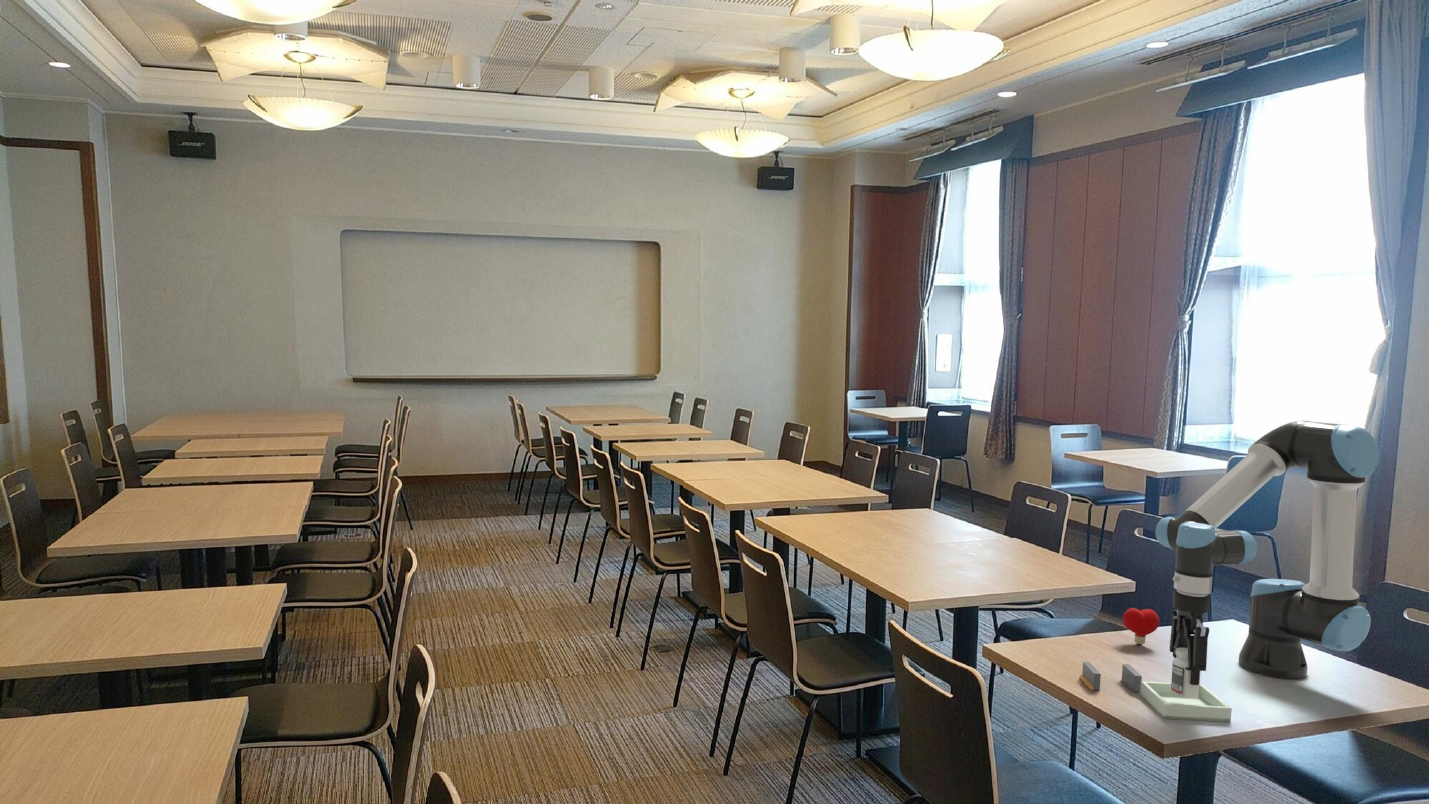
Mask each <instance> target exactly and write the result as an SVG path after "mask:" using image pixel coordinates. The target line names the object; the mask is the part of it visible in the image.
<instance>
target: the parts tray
mask: <svg viewBox="0 0 1429 804" xmlns="http://www.w3.org/2000/svg"><path fill="white" fill-rule="evenodd" d="M1140 696H1142V697H1143V699H1145V700H1146V701H1147V703H1149V704H1150V705H1151V706H1152V707H1153V708H1154V709H1155V710H1156V711H1157V712H1158V713H1159V714H1160V715H1161V716H1162V717H1163V718H1164V719H1165V720H1167V719H1168V720H1169V719H1170V720H1184V721H1186V720H1187V721H1205V722H1220V723H1221V722H1223V723H1231V721H1232V707H1231V706H1229V705H1228V704H1227V703H1226V702H1225V701H1224V700H1222V699H1221V698H1220V697H1219V696H1217V695H1216V694H1215V693H1214V692H1212V691H1211V690H1210V689H1208V688H1207V687H1206V686H1205V685H1204V684H1200V686H1199V695H1198V699H1196V698H1185V697H1182V696H1179V695H1176V694H1174V693H1173V692H1172V691H1171V682H1163V681H1161V682H1160V681H1141V691H1140Z"/></svg>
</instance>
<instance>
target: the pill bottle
mask: <svg viewBox="0 0 1429 804" xmlns="http://www.w3.org/2000/svg"><path fill="white" fill-rule="evenodd" d="M1175 654H1176V656H1177V657H1176V658H1174V657H1173V660H1172V668H1171V682H1170V683H1171V691H1172V692H1173V693H1174V694H1176V695H1179V696H1182V697H1184V695H1185V681H1186V669H1185V667H1189V665H1188V648H1177V649H1176V652H1175ZM1199 686H1200V681H1199Z"/></svg>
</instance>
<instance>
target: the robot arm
mask: <svg viewBox="0 0 1429 804" xmlns="http://www.w3.org/2000/svg"><path fill="white" fill-rule="evenodd" d="M1379 461H1380V450H1379V446H1378V442H1377V440H1376V439H1375V437H1374V436H1373V435H1372V434H1371V433H1370V431H1368V430H1367V429H1365V428H1363V427H1359V426H1354V425H1350V424H1341V423H1333V422H1332V423H1331V422H1330V423H1329V422H1322V421H1321V422H1318V421H1311V420H1296V421H1291V422H1288V423H1286V424H1283V425H1280V426H1278V427H1276V428H1274V429H1272V430H1270V431H1269V432H1267V433H1266V434H1264V435H1263V436H1261V437H1259V439H1258V440H1256V441H1254V442H1253V444H1251V445H1250V446H1249V447H1248V449H1247V455H1246V456H1245V457H1243V458H1242V459H1241V460H1240V461H1238V463H1237V464H1236V465H1234V467H1232V468H1231V469H1230V470H1229V471H1228V472H1227V473H1226V474H1224V475H1223V476H1222V477H1221V478H1220V479H1219V480H1218V481H1216V483H1214V485H1212V486H1211V487H1210V488H1209V489H1208V490H1206V492H1205V493H1203V494H1202V495H1201V496H1200V497H1198V498H1197V500H1196V501H1195V502H1193V503H1192V504H1191V505H1190V506H1189V507H1188V508H1187V509H1185V511H1184V512H1182V513H1181V514H1180V515H1179V516H1178V517H1176V516H1166V517H1163V518H1161V519H1160V520H1159V521H1158V523H1157V524H1156V528H1155V538H1156V541H1158V543H1159V544H1160V545H1162V546H1163V547H1166V548H1168V549H1170V550H1172V551H1173V550H1174V551H1175V567H1174V576H1173V577H1172V581H1173V589H1175V590H1174V591H1173V593H1172V594H1173V595H1172V607H1173V608H1174V609H1176V610H1174V609H1173V610H1172V611H1171V628H1170V629H1171V630H1170V640H1169V641H1170V642H1169V652H1170V653H1172V657H1173V659H1174V658H1176V657H1177V656H1176V654H1175V652H1176V649H1177V648H1188V665H1189V667H1185V669H1186V681H1185V695H1184V697H1185V698H1196V699H1198V695H1199V681H1200V679H1201V672H1207V664H1208V663H1207V662H1208V661H1207V659H1208V639H1209V633H1210V628H1209V627H1207V626H1204V621H1203V614H1207V613H1209V612H1210V611H1211V596H1210V594H1211V593H1212V589H1213V588H1212V585H1213V570H1214V566H1225V565H1236V566H1237V565H1240V564H1245V563H1250V562H1251V561H1253V560H1254V559H1255V557H1256V555H1257V551H1258V545H1257V541H1256V540H1255V538H1254V537H1253V535H1252V534H1251V533H1249V532H1248V531H1246V530H1237V529H1232V530H1227V529H1221V528H1218V527H1219V526H1220V525H1221V524H1223V523H1224V522H1225V521H1226V520H1227V519H1228V518H1229V517H1230V516H1232V515H1233V513H1235V512H1236V511H1237V510H1238V509H1239V508H1240V507H1241V506H1243V504H1245V503H1246V502H1247V501H1248V500H1249V499H1250V498H1251V497H1252V496H1253V495H1254V494H1256V493H1257V492H1258V491H1259V490H1260V489H1261V488H1262V487H1264V485H1266V483H1267V482H1269V481H1270V480H1271V479H1272V478H1273V477H1279V476H1281V475H1283V474H1284V473H1286V471H1288V470H1290V469H1296V468H1302V469H1306V480H1308V482H1309V483H1311V484H1312V486H1313V496H1312V497H1313V498H1312V499H1313V501H1312V522H1311V526H1312V527H1311V540H1310V541H1311V542H1310V543H1311V545H1310V565H1309V582H1307V583H1304V582H1303V581H1300V580H1294V579H1285V578H1284V579H1282V578H1264V579H1262V578H1261V579H1258V580H1255V581H1254V582H1253V584H1252V588H1251V589H1252V590H1251V594H1250V607H1249V621H1248V624H1249V625H1248V635H1247V636H1246V640H1245V641H1244V643H1243V645H1242V647H1241V650H1240V652H1239V654H1238V664H1239V665H1240V666H1241V667H1243V668H1245V669H1246V670H1248V671H1251V672H1253V673H1256V674H1258V675H1259V674H1260V675H1262V676H1263V675H1264V676H1267V677H1273V678H1278V679H1287V680H1291V679H1294V680H1296V679H1297V680H1298V679H1303V678H1305V677H1307V675H1308V663H1307V660H1306V656H1305V652H1304V650H1303V647H1302V640H1305V641H1309V642H1310V643H1311V642H1312V643H1314V644H1317V645H1319V646H1322V647H1324V648H1327V649H1332V650H1335V651H1339V652H1349V651H1353V650H1355V649H1357V648H1358V647H1360V645H1361V644H1362V642H1363V641H1365V639H1367V637H1368V633H1369V631H1370V629H1371V623H1372V622H1371V621H1372V618H1371V615H1370V613H1369V611H1368V610H1367V608H1365V607H1363V606H1362V605H1360V594H1359V592H1357V591H1356V590H1355V588H1353V578H1354V577H1353V574H1354V559H1355V558H1354V556H1355V555H1354V553H1355V538H1356V537H1355V536H1356V535H1355V534H1356V519H1357V518H1356V513H1357V512H1356V511H1357V497H1358V496H1357V495H1358V494H1357V493H1358V489H1359V488H1360V487H1361V486H1363V485H1364V484H1365V483H1366V478H1367V477H1370V476H1372V474H1373V473H1374V472H1376V467H1378V465H1379Z"/></svg>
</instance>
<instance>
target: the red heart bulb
mask: <svg viewBox="0 0 1429 804" xmlns="http://www.w3.org/2000/svg"><path fill="white" fill-rule="evenodd" d="M1122 622H1123V625H1124V626H1125V627H1126V629H1128V630H1129V631H1130V632H1132V633H1134V640H1133V641H1134V643H1135V644H1136V645H1138V646H1142V645H1144V644H1145V643H1146V636H1148V635H1151V634H1152V633H1154V632H1155V631H1157V629H1158V628H1159V625H1160V617H1159V616H1158V613H1156V611H1154V610H1153V609H1150V608H1145V609H1141V610H1140V609H1138V608H1135V607H1129V609H1127V610H1126V611H1125V612H1124V614H1123V615H1122Z"/></svg>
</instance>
